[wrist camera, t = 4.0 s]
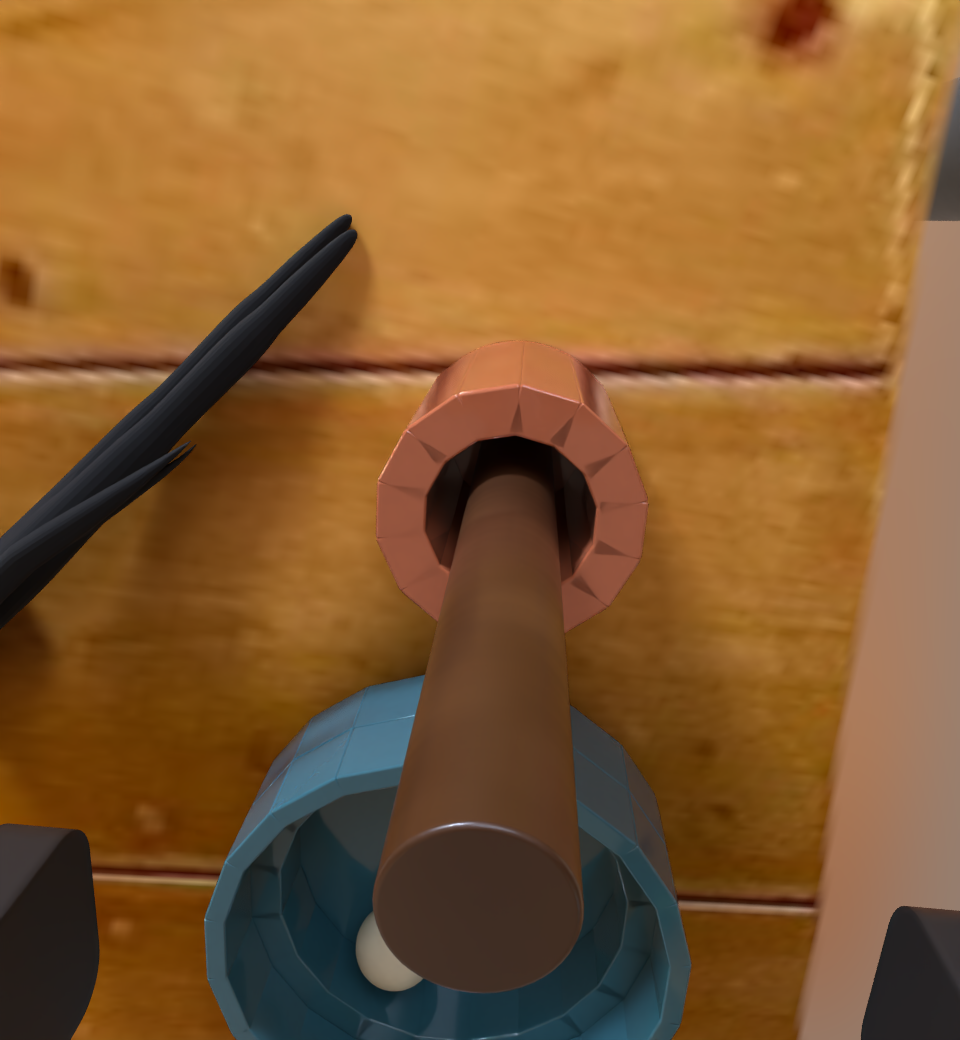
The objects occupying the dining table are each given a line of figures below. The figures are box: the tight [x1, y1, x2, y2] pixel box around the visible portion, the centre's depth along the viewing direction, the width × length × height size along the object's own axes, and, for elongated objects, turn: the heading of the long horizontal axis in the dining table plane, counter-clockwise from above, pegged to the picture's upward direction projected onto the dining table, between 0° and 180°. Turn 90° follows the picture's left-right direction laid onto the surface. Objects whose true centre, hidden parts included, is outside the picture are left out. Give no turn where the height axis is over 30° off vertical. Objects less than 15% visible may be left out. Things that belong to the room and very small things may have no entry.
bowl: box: [204, 675, 691, 1040], centre depth 31 cm, size 15×15×6 cm
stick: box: [372, 436, 584, 993], centre depth 19 cm, size 2×2×20 cm
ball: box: [356, 911, 423, 991], centre depth 33 cm, size 3×3×3 cm
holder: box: [376, 341, 649, 633], centre depth 25 cm, size 6×6×8 cm
